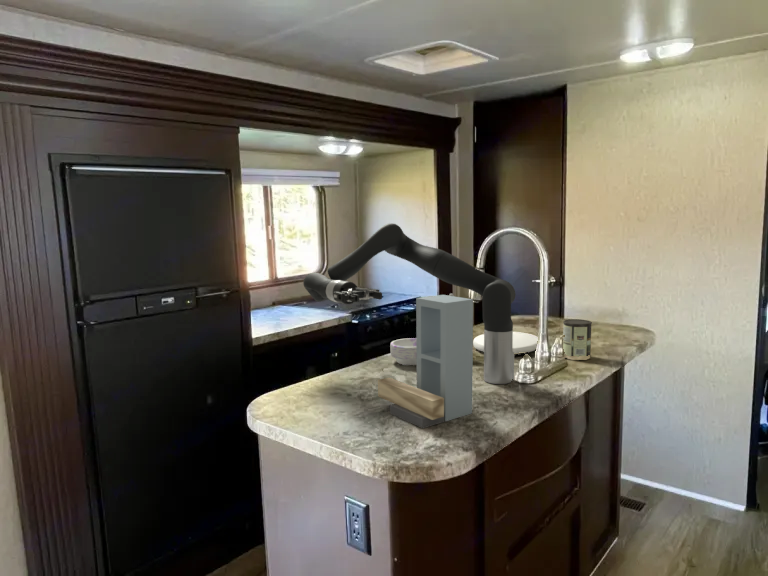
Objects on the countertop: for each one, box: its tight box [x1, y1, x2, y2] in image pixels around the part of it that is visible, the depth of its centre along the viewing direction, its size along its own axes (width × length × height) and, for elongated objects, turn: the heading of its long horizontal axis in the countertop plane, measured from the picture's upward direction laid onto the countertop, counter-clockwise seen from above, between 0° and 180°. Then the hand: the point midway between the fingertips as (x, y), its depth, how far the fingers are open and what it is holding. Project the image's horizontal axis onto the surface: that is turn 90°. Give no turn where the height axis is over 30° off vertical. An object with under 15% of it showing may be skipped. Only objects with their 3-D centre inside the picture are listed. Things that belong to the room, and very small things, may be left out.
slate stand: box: [415, 294, 474, 422], centre depth 156 cm, size 10×12×32 cm
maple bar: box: [377, 377, 444, 420], centre depth 155 cm, size 4×24×5 cm, turn 36°
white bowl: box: [389, 337, 417, 366], centre depth 210 cm, size 15×15×8 cm
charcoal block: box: [389, 403, 445, 429], centre depth 153 cm, size 8×14×2 cm, turn 36°
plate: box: [473, 331, 539, 353], centre depth 229 cm, size 28×6×27 cm
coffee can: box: [562, 318, 593, 357], centre depth 214 cm, size 10×10×14 cm
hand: (369, 297), depth 172 cm, fingers open, 8 cm apart
